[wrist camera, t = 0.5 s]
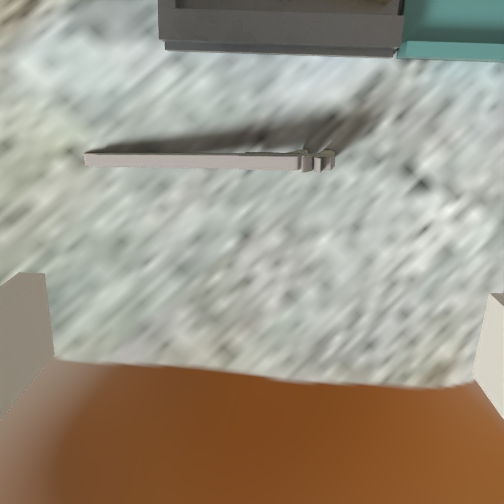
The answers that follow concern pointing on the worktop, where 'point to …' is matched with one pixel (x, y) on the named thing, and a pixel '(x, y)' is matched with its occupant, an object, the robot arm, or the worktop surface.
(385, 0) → the tan block
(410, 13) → the tray
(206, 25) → the grey shallow bin
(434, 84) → the worktop surface
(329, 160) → the caliper
